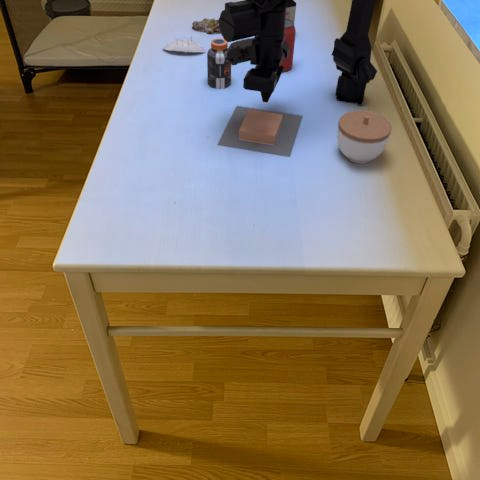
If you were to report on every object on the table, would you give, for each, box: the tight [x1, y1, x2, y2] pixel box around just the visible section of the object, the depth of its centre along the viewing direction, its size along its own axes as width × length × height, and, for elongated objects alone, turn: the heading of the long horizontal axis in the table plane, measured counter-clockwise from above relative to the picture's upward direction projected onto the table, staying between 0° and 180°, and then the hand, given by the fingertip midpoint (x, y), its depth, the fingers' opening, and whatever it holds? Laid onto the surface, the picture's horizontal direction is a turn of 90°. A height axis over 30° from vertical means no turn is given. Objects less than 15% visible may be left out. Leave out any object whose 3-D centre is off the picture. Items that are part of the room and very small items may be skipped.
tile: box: [239, 109, 283, 145], centre depth 113 cm, size 8×2×9 cm
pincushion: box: [162, 37, 206, 54], centre depth 141 cm, size 12×6×6 cm, turn 85°
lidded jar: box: [336, 110, 393, 164], centre depth 106 cm, size 11×11×9 cm
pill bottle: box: [206, 38, 232, 90], centre depth 126 cm, size 6×6×11 cm
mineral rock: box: [191, 18, 221, 35], centre depth 154 cm, size 11×4×8 cm
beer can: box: [280, 18, 296, 73], centre depth 133 cm, size 7×7×12 cm
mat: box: [217, 105, 303, 158], centre depth 115 cm, size 16×17×1 cm
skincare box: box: [286, 5, 297, 23], centre depth 148 cm, size 5×4×10 cm
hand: (265, 101), depth 113 cm, fingers closed
